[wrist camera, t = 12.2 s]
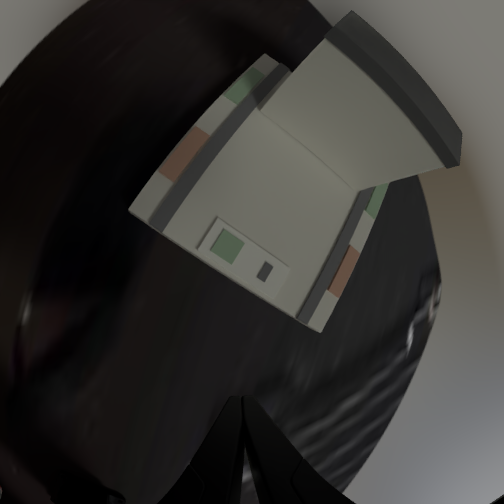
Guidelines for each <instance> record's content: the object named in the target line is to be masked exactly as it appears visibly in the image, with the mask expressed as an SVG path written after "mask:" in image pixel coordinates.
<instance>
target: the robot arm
mask: <svg viewBox="0 0 504 504" xmlns="http://www.w3.org/2000/svg"><path fill="white" fill-rule="evenodd" d="M242 409H243V411H242ZM243 424H244V426H243ZM244 438H245V440H244ZM245 448H246V453H247V457H248V461H249V465H250V469H251V473H252V477H253V481H254V485H255V488H256V492H257V496H258V500H259V503H260V504H356V503H354V502H353V501H351V500H350V499H349V498H347V497H346V496H345V495H343V494H342V493H341V492H339V491H338V490H337V489H335V488H334V487H333V486H332V485H330V484H329V483H328V482H327V481H326V480H325V479H324V478H322V477H321V476H320V475H319V474H318V473H317V472H316V471H315V470H314V469H313V468H312V467H311V465H310V464H309V463H308V462H307V461H306V460H305V459H303V457H302V456H301V454H300V453H299V452H298V451H297V450H296V449H295V447H294V446H293V445H292V444H291V443H290V441H289V440H288V439H287V438H286V436H285V435H284V434H283V433H282V432H281V430H280V429H279V428H278V427H277V425H276V424H275V423H274V422H273V420H272V419H271V418H270V416H269V415H268V414H267V413H266V411H265V410H264V409H263V407H262V406H261V405H260V403H259V402H258V401H257V399H256V398H255V397H254V396H252V395H250V396H242V398H241V396H231V397H229V399H228V400H227V402H226V404H225V405H224V407H223V409H222V411H221V412H220V414H219V416H218V417H217V419H216V421H215V423H214V424H213V426H212V428H211V429H210V431H209V433H208V434H207V436H206V437H205V439H204V441H203V442H202V444H201V446H200V447H199V449H198V450H197V452H196V454H195V455H194V457H193V458H192V460H191V462H190V465H188V466H187V467H186V469H185V471H184V472H183V474H182V475H181V476H180V478H179V479H178V481H177V482H176V483H175V485H174V486H173V487H172V488H171V489H170V490H169V492H168V493H167V494H166V495H165V496H164V497H163V498H162V499H161V500H160V501H159V502H158V503H157V504H240V498H241V487H242V476H243V465H244V453H245ZM50 499H51V501H52V502H54V503H55V504H125V503H126V500H125V498H124V497H122V496H119V495H116V494H114V493H111V492H109V491H106V490H104V489H101V488H99V487H97V486H94V485H92V484H90V483H88V482H85V481H83V480H81V479H79V478H77V477H75V476H73V475H71V474H69V473H67V472H65V471H60V472H59V475H58V477H57V480H56V483H55V486H54V489H53V492H52V495H51V498H50ZM490 504H504V495H502V496H501V497H499V498H498V499H496V500H495V501H493V502H492V503H490Z"/></svg>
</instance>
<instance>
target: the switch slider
mask: <svg viewBox="0 0 504 504" xmlns="http://www.w3.org/2000/svg"><path fill="white" fill-rule="evenodd" d="M324 37H325V39H324V40H323V41H322V42H321V43H320V44H319V45H318V46H317V47H316V48H315V49H314V50H313V51H312V52H311V53H310V54H309V55H308V56H307V57H306V59H305V60H304V61H303V62H302V63H301V64H300V65H299V66H298V67H297V68H296V69H295V71H294V72H293V73H292V74H291V75H290V76H289V77H288V78H287V80H286V81H285V82H284V83H283V84H282V85H281V86H280V88H279V89H278V90H277V91H276V92H275V93H274V95H273V96H272V97H271V98H270V99H269V100H268V102H267V103H266V104H265V105H264V106H263V108H262V109H261V110H260V112H262V113H263V114H264V115H266V116H267V117H268V118H270V119H271V120H272V121H274V122H275V123H276V124H278V125H279V126H280V127H282V128H283V129H284V130H285V131H287V132H288V133H289V134H290V135H292V136H293V137H294V138H295V139H297V140H298V141H299V142H300V143H302V144H303V145H304V146H305V147H306V148H308V149H309V150H310V151H311V152H312V153H313V154H315V155H316V156H317V157H318V158H319V159H320V160H322V161H323V162H324V163H325V164H326V165H327V166H328V167H330V168H331V169H332V170H333V171H334V172H335V173H336V174H337V175H338V176H339V177H341V178H342V179H343V180H344V181H345V182H346V183H347V184H348V185H349V186H350V187H351V188H352V189H353V190H354V191H355V192H357V191H361V190H364V189H367V188H371V187H374V186H378V185H381V184H385V183H388V182H391V181H395V180H398V179H402V178H406V177H409V176H413V175H416V174H420V173H423V172H427V171H431V170H435V169H438V168H442V167H446V168H451V167H455V166H459V165H460V156H461V144H462V132H461V130H460V129H459V127H458V126H457V124H456V123H455V121H454V120H453V118H452V117H451V115H450V114H449V112H448V111H447V110H446V108H445V107H444V105H443V104H442V103H441V101H440V100H439V99H438V98H437V96H436V95H435V93H434V92H433V91H432V90H431V88H430V87H429V86H428V85H427V83H426V82H425V81H424V80H423V79H422V77H421V76H420V75H419V74H418V73H417V72H416V70H415V69H414V68H413V67H412V66H411V65H410V64H409V63H408V62H407V61H406V59H404V57H403V56H402V55H401V54H400V53H399V52H398V51H397V50H396V49H395V48H393V46H392V45H391V44H390V43H389V42H388V41H387V40H386V39H385V38H384V37H382V36H381V35H380V34H379V33H378V32H377V31H376V30H375V29H374V28H373V27H371V26H370V25H369V24H368V23H367V22H365V20H363V19H362V18H361V17H360V16H358V15H357V14H356V13H355V12H354V11H352V10H351V11H350V12H349V13H348V14H347V15H346V16H345V17H343V18H342V19H341V20H340V21H339V22H338V23H337V24H336V25H335V26H334V27H333V28H332V29H331V30H330V31H329V32H328V33H327V34H326V35H325V36H324Z"/></svg>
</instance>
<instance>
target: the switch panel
mask: <svg viewBox="0 0 504 504" xmlns="http://www.w3.org/2000/svg"><path fill="white" fill-rule="evenodd" d="M289 70H290V69H289V68H288V67H286V66H285V65H284V64H282V63H280V64H279V63H278V62H277V61H275V60H274V59H272V58H271V57H269V56H268V55H266V54H264V55H262V56H261V57H260V58H259V59H258V60H257V61H256V62H255V63H254V64H253V65H251V66H250V67H249V68H248V69H247V70H246V71H245V72H244V73H243V74H242V75H241V76H240V77H239V78H238V79H237V80H236V81H235V82H234V83H233V84H232V85H231V86H230V87H229V88H228V89H227V90H226V91H225V92H224V93H223V94H222V95H221V96H220V97H219V98H218V99H217V100H216V101H215V102H214V103H213V104H212V105H211V106H210V107H209V108H208V109H207V111H206V112H205V113H204V114H203V115H202V116H201V117H200V118H199V119H198V121H197V122H196V123H195V124H194V125H193V126H192V127H191V128H190V130H189V131H188V132H187V133H186V134H185V135H184V137H183V138H182V139H181V140H180V141H179V143H178V144H177V145H176V146H175V147H174V149H173V150H172V151H171V152H170V154H169V155H168V156H167V157H166V159H165V160H164V161H163V163H162V164H161V165H160V166H159V168H158V169H157V170H156V172H155V173H154V174H153V176H152V177H151V178H150V180H149V181H148V182H147V184H146V185H145V186H144V188H143V189H142V191H141V192H140V193H139V195H138V196H137V198H136V199H135V200H134V202H133V203H132V205H131V206H130V208H129V209H128V210H129V212H130V213H131V214H133V215H134V216H136V217H137V218H139V219H140V220H141V221H143V222H144V223H146V224H147V225H149V226H150V227H152V228H153V229H155V230H156V231H158V232H159V233H160V234H162V235H163V236H165V237H166V238H168V239H169V240H171V241H172V242H174V243H175V244H177V245H178V246H180V247H181V248H183V249H184V250H186V251H187V252H189V253H190V254H192V255H193V256H195V257H197V258H198V259H200V260H201V261H203V262H204V263H206V264H207V265H209V266H210V267H212V268H213V269H215V270H217V271H218V272H220V273H221V274H223V275H224V276H226V277H228V278H229V279H231V280H232V281H234V282H235V283H237V284H239V285H240V286H242V287H243V288H245V289H246V290H248V291H250V292H251V293H253V294H254V295H256V296H258V297H259V298H261V299H263V300H264V301H266V302H267V303H269V304H271V305H272V306H274V307H276V308H277V309H279V310H280V311H282V312H284V313H285V314H287V315H289V316H290V317H292V318H294V319H295V320H297V321H299V322H300V323H302V324H304V325H305V326H307V327H309V328H310V329H312V330H315V331H317V332H319V333H321V331H322V330H323V328H324V326H325V324H326V322H327V320H328V318H329V317H330V315H331V313H332V311H333V309H334V307H335V305H336V303H337V301H338V299H339V297H340V295H341V293H342V291H343V289H344V287H345V285H346V283H347V281H348V279H349V277H350V275H351V273H352V271H353V269H354V266H355V264H356V262H357V260H358V258H359V256H360V253H361V251H362V249H363V247H364V244H365V242H366V240H367V237H368V235H369V233H370V230H371V228H372V226H373V223H374V221H375V218H376V216H377V213H378V211H379V208H380V206H381V203H382V201H383V198H384V195H385V193H386V190H387V187H388V185H389V182H388V183H385V184H381V185H378V186H374V187H371V188H367V189H364V190H361V191H357V192H355V191H354V190H353V189H352V188H351V187H350V186H349V185H348V184H347V183H346V182H345V181H344V180H343V179H342V178H341V177H339V176H338V175H337V174H336V173H335V172H334V171H333V170H332V169H331V168H330V167H328V166H327V165H326V164H325V163H324V162H323V161H322V160H320V159H319V158H318V157H317V156H316V155H315V154H313V153H312V152H311V151H310V150H309V149H308V148H306V147H305V146H304V145H303V144H302V143H300V142H299V141H298V140H297V139H295V138H294V137H293V136H292V135H290V134H289V133H288V132H287V131H285V130H284V129H283V128H282V127H280V126H279V125H278V124H276V123H275V122H274V121H272V120H271V119H270V118H268V117H267V116H266V115H264V114H263V113H262V112H260V110H261V109H262V108H263V106H264V105H265V104H266V103H267V102H268V100H269V99H270V98H271V97H272V96H273V95H274V93H275V92H276V91H277V90H278V89H279V88H280V86H281V85H282V84H283V83H284V82H285V81H286V80H287V78H288V77H289V76H290V75H291V74H292V72H290V71H289Z"/></svg>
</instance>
